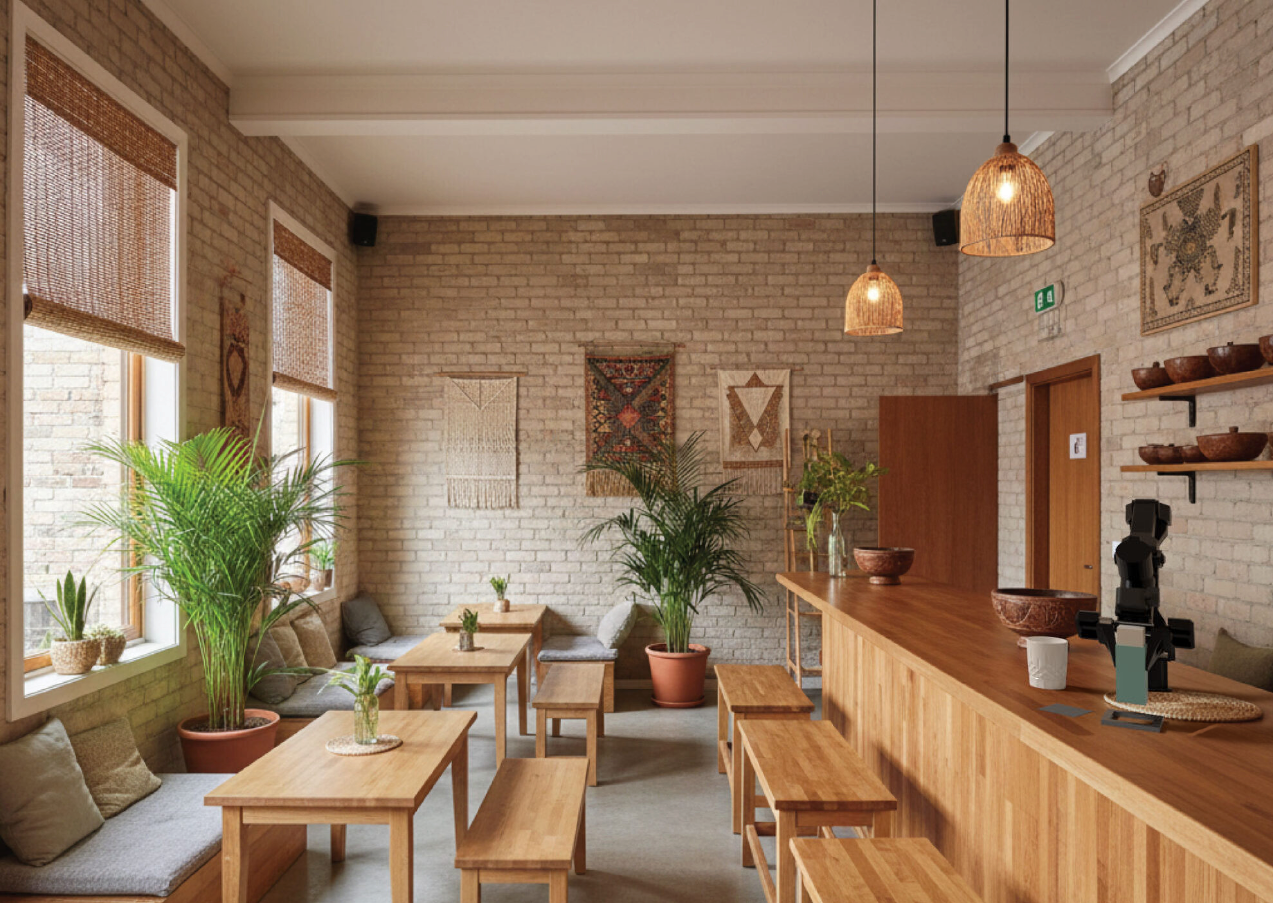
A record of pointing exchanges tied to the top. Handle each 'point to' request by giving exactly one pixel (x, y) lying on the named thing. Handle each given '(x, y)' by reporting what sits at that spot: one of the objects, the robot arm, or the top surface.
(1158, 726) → the socket
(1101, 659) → the top surface
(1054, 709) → the pad
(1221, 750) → the top surface
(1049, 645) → the white cup
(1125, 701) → the peg
